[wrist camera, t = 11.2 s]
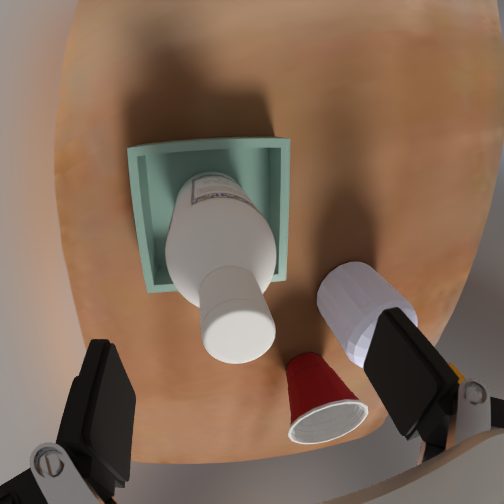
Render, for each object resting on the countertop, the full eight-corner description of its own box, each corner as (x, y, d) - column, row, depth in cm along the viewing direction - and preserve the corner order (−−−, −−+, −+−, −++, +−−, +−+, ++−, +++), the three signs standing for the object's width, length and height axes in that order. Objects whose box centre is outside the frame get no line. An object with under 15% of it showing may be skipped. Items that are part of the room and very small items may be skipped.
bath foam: (211, 250, 31) (240, 411, 13) (161, 207, 28) (115, 345, 10) (259, 203, 30) (354, 323, 12) (209, 155, 27) (240, 215, 9)
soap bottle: (305, 316, 38) (394, 478, 16) (330, 254, 35) (468, 409, 13) (358, 320, 40) (452, 451, 18) (384, 265, 37) (511, 387, 15)
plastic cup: (254, 366, 40) (274, 434, 29) (319, 327, 39) (356, 389, 29) (288, 397, 45) (309, 455, 34) (344, 364, 44) (375, 419, 33)
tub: (138, 144, 26) (127, 147, 21) (275, 136, 28) (290, 138, 24) (153, 269, 31) (147, 293, 27) (273, 259, 34) (285, 280, 29)
